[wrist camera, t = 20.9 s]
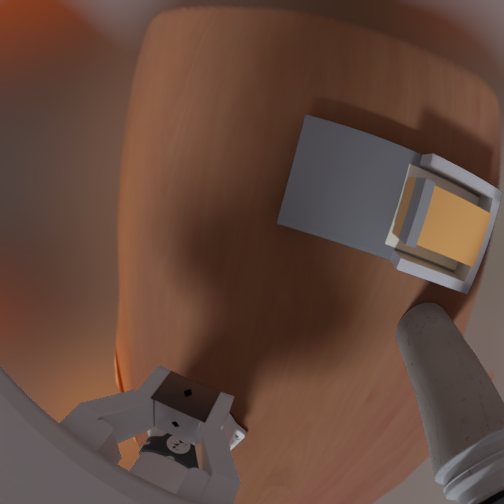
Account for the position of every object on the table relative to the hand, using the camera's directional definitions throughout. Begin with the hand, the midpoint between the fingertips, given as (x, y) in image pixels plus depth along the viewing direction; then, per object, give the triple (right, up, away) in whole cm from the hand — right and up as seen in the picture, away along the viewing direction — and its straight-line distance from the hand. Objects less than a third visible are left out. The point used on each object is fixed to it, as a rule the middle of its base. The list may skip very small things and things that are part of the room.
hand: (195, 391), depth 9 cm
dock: (+18, +11, +19) cm, 28 cm away
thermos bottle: (+25, -5, +22) cm, 34 cm away
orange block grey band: (+22, +9, +16) cm, 28 cm away
